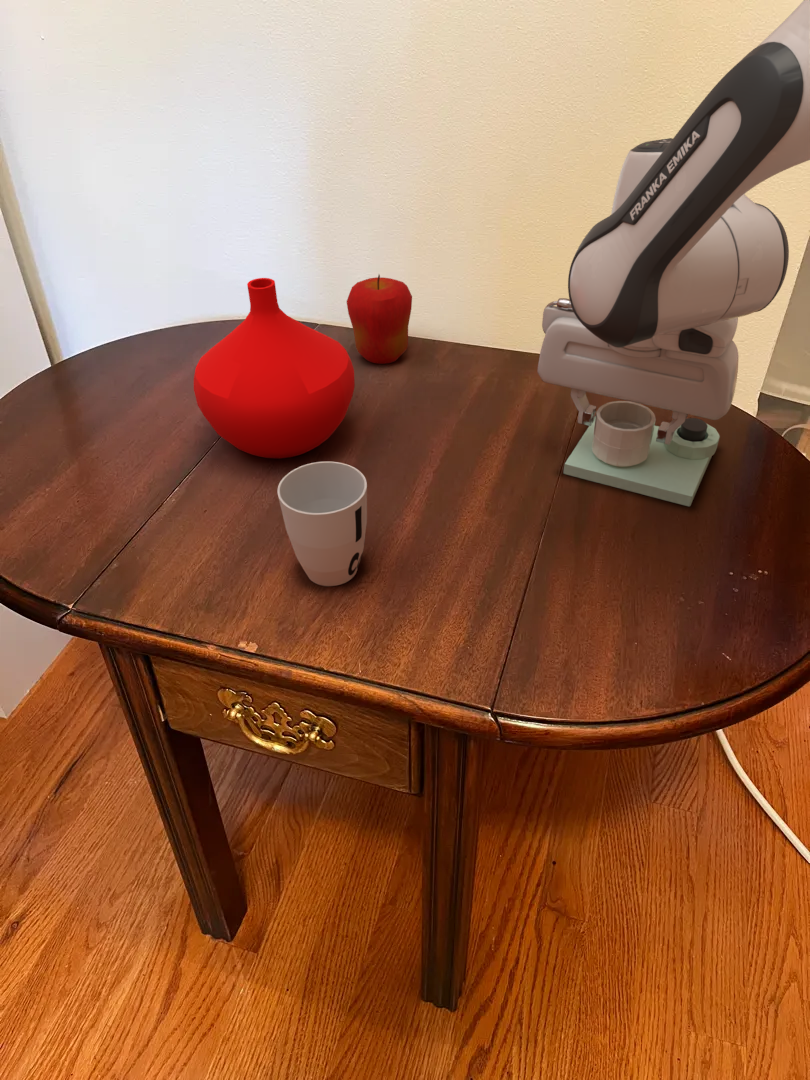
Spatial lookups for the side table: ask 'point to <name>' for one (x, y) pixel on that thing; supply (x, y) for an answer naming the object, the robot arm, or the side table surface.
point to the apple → (380, 318)
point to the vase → (274, 381)
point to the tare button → (693, 430)
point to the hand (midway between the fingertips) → (624, 431)
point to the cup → (325, 519)
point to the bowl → (623, 433)
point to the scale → (650, 467)
